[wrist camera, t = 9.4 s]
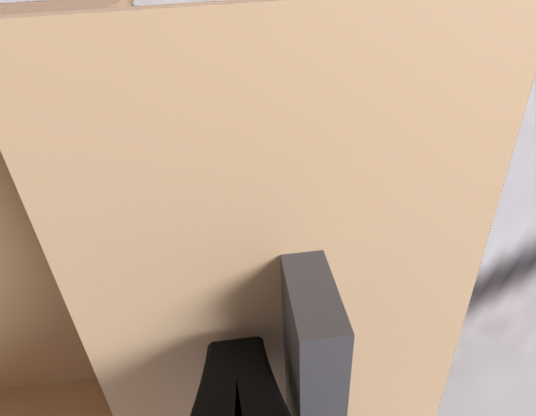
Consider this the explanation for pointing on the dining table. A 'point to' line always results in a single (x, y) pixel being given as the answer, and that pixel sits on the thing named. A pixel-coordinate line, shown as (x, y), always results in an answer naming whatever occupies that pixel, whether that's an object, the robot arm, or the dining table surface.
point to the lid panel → (267, 185)
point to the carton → (39, 301)
